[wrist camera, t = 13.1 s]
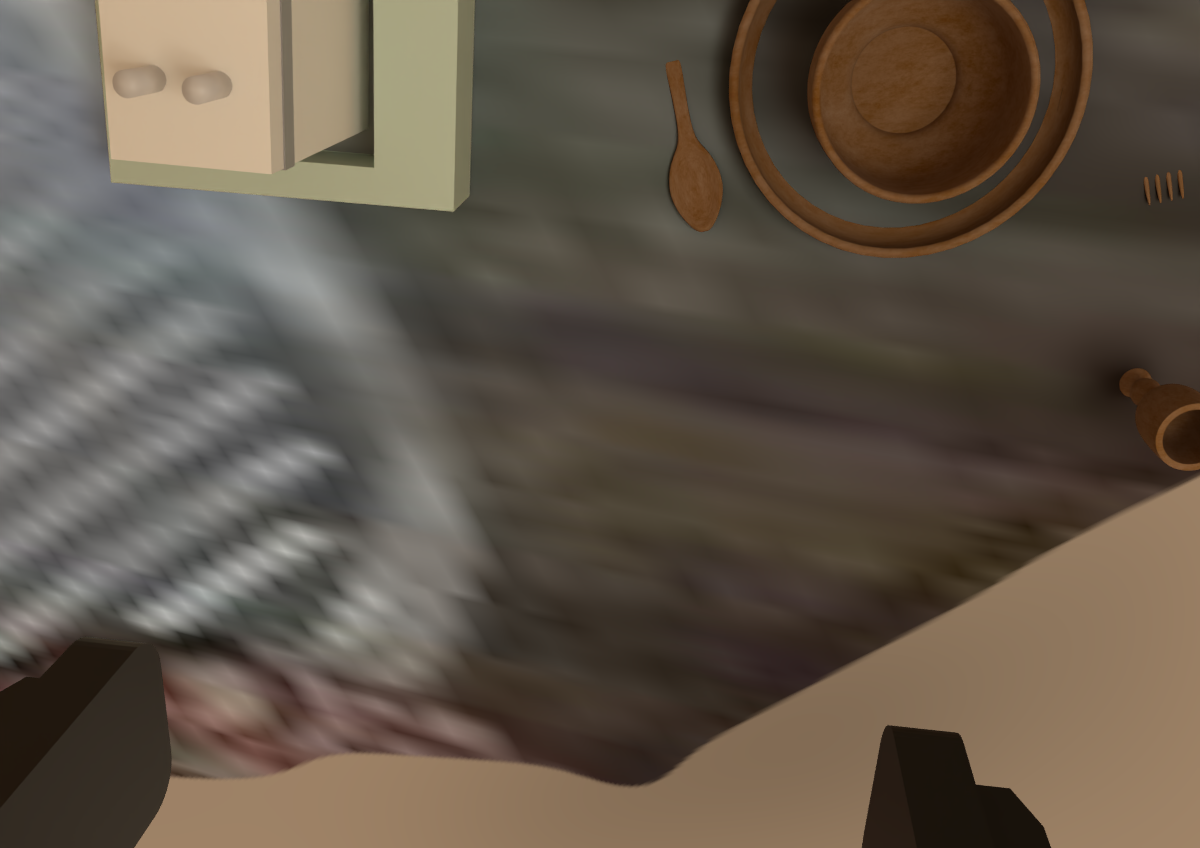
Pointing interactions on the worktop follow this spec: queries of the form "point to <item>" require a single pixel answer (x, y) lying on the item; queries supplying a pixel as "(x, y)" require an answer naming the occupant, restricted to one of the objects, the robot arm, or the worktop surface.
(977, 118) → the place setting
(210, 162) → the block
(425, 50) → the green rectangular tray
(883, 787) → the robot arm
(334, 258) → the worktop surface
